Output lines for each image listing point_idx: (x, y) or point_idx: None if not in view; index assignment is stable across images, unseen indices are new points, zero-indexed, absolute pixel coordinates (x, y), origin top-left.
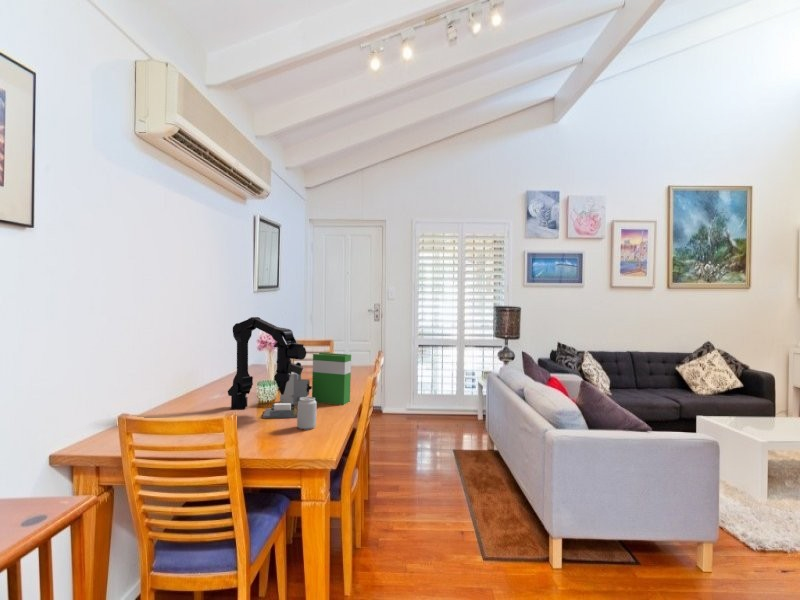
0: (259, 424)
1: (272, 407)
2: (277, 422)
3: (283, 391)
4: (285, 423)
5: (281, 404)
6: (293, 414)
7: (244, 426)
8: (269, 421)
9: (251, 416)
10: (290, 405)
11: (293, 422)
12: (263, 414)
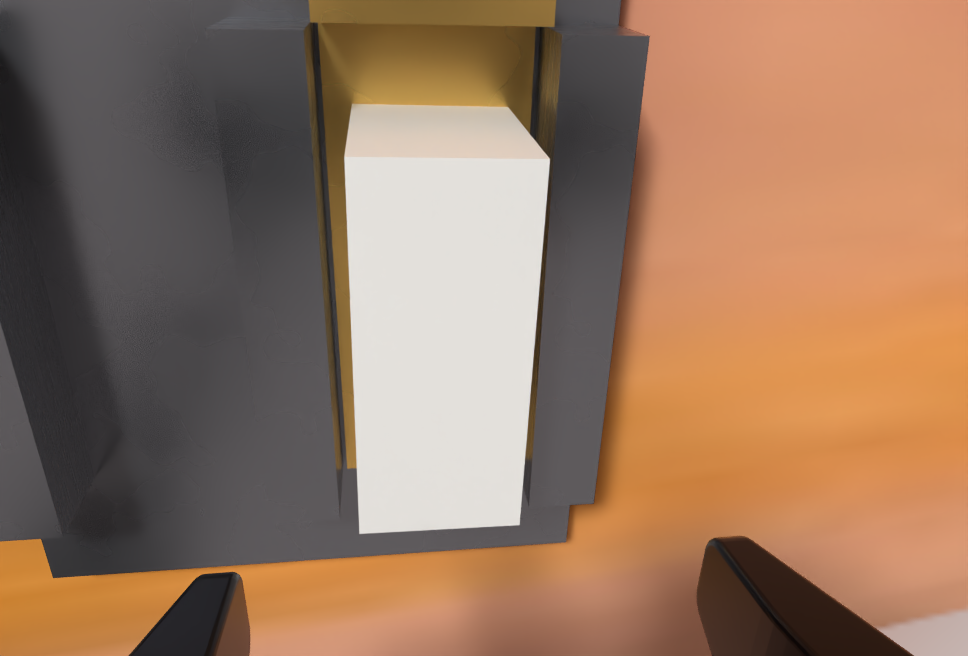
0: (860, 497)
1: (292, 505)
2: (841, 286)
3: (842, 631)
4: (947, 152)
5: (493, 385)
6: (619, 26)
7: (885, 623)
8: (748, 404)
9: (427, 651)
10: (518, 151)
11: (940, 4)
12: (468, 545)
